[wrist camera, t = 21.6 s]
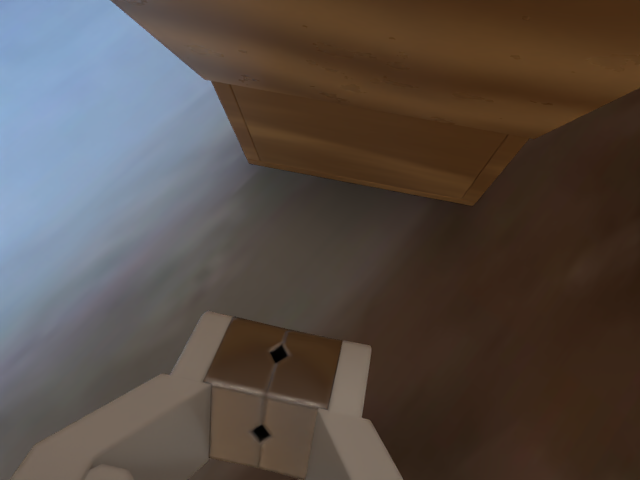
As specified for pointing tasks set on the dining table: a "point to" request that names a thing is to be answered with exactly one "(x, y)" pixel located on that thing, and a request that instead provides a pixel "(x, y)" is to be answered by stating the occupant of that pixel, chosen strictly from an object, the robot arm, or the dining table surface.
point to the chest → (366, 145)
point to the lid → (414, 54)
